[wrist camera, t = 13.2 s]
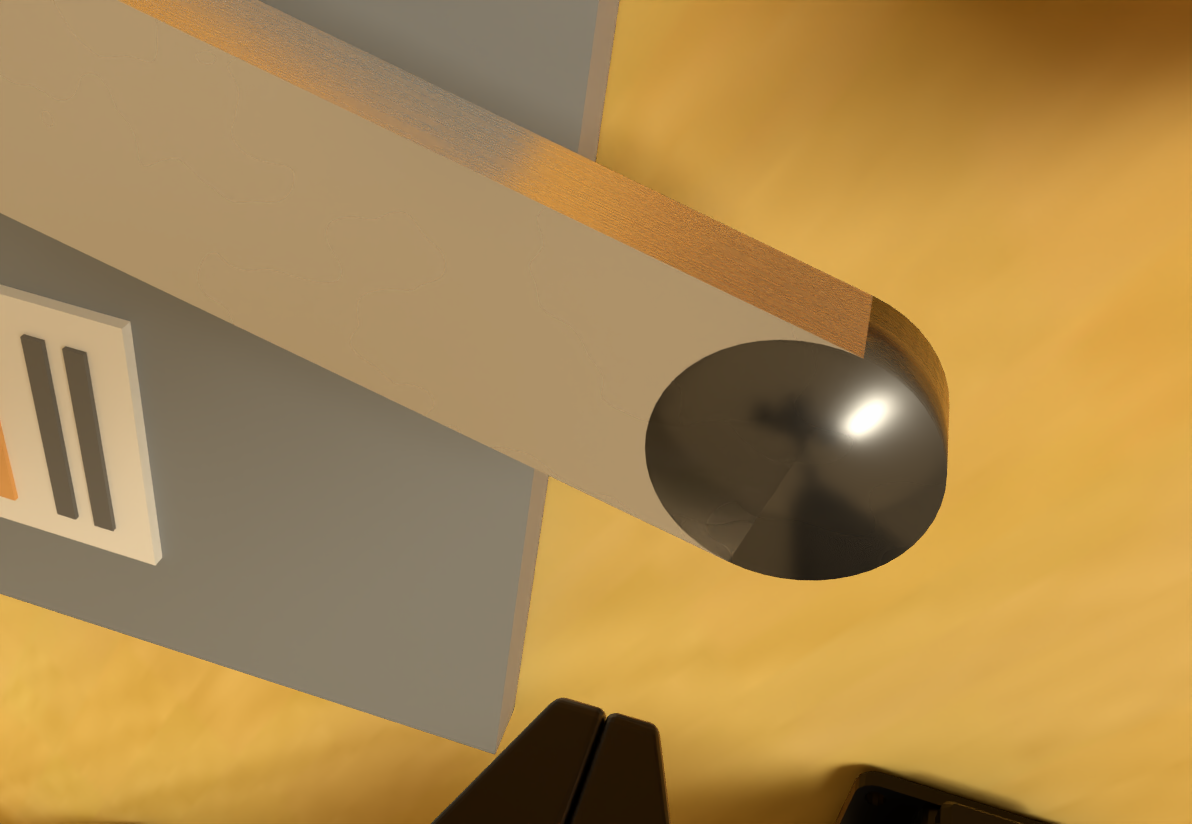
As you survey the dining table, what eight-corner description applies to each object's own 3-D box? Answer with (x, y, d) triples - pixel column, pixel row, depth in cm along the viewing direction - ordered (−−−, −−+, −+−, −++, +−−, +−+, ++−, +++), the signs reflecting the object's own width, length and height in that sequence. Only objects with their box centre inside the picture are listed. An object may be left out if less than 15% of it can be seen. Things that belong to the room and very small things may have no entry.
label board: (513, 709, 30) (467, 820, 27) (-142, 500, 33) (-245, 582, 30) (652, -222, 17) (588, -187, 14) (-477, -450, 19) (-718, -459, 17)
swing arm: (-298, -46, 18) (-562, 28, 15) (-340, -321, 16) (-667, -302, 13) (866, 512, 18) (842, 699, 15) (1005, 327, 16) (1012, 505, 13)
